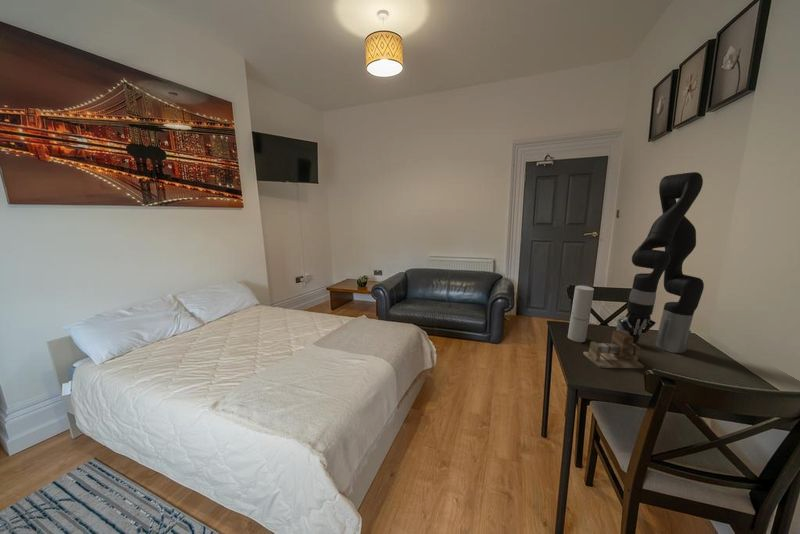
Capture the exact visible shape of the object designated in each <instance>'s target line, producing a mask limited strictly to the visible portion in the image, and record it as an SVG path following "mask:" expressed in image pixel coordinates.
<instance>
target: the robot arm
mask: <svg viewBox="0 0 800 534" xmlns="http://www.w3.org/2000/svg"><path fill="white" fill-rule="evenodd" d="M703 179H704V178H703V176H702V174H701V173H700V172H698V171H695V172H694V171H693V172H685V173H677V174H669V175H665V176H663V177H662V178H661V180H660V183H659V186H658V187H659V188H658V189H659V190H658V191H659V199H660V205H661V206H660V207H661V210H662V211H661V212H662V214H661V215H660V216H659V217H658V218H657V219H656V220H655V221H654V222H653V223H652V225H651V227H650V229H649V232H648V233H647V236H646V238H645V239H644V241H643V242H642V243H641V244H640V245H638V247H637V249H635V251H634V252H633V254H632V255H631V262H632V265H634V266H635V267H638V268H645V269H651V270H652V272H650V273H647V272H646V273H644V272H643V273H642V272H641V273H636V274H635V275H634V277H633V283H632V286H631V290H630V293H629V296H628V297H629V298H628V303H627V307H626V310H627V313H626V315H625V316H626V317H625V318H624V319H619V322H620V323H621V325H622V326H623V328H624V330H626V331H628V332H629V335H631V336H632V337H634V339H633V343H634V344H637V343H638V342H639V340H640V335H641V334H646V333H647V332H649V330H650V329H652V328H653V327H654V326H655V325H656V323H657V322H656V321H654V320H652V319H651V316H652V315H653V312H654V308H655V304H656V303H655V302H656V298H657V290H658V285H659V281H660V280H661V277H662V275H663V287H664V290H665V291H666V292H667V293H668V294H671V295H674V296H677V297H679V299H678V301H667V302H665V303H664V306H663V310H662V315H661V319H660V321H659V327H658V332H657V335H656V339H655V343H654V344H655V347H657V348H658V349H661V350H663V351H666V352H669V353H675V354H682V353H683V354H684V352H687V350H688V346H689V343H690V339H691V335H692V331H691V330H690V329H691V325H692V321H693V318H694V314H695V311H696V310H697V308H698V306H699V304H700V300H701V297H702V295H703V291H704V289H705V284H704V280H703V279H702V278H700V277H697V276H692V275H688V274H684V273H683V264H684V261H685V260H686V259H687V258H688V257H689V256H690V254H691V253H692V252H693V251H694V250H695V248H696V246H697V229H696V227H695V226H694V224H693V223H692V222H691V220H689V219H688V218H687V216H686V214H687V212H688V211H689V210H690V208H691V207H692V205H693V204H694V202H695V200H696V199H697V197H698V196H699V194H700V192H701V190H702V188H703V184H704V180H703ZM659 248H660V249H661V248H664V250H660V249H659ZM628 322H629V323H628Z"/></svg>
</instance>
